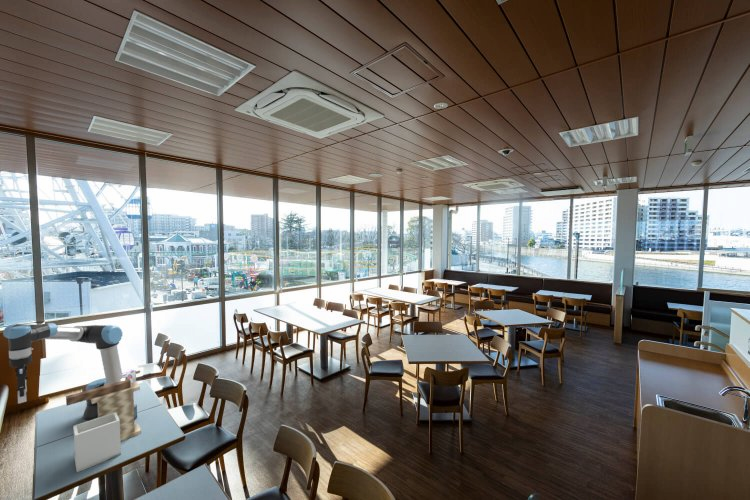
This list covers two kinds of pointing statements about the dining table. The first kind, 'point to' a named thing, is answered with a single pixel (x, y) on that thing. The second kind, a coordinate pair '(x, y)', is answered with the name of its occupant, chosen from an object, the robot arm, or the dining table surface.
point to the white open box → (96, 441)
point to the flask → (135, 411)
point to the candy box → (130, 375)
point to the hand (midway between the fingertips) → (22, 397)
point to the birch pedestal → (120, 409)
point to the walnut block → (97, 392)
